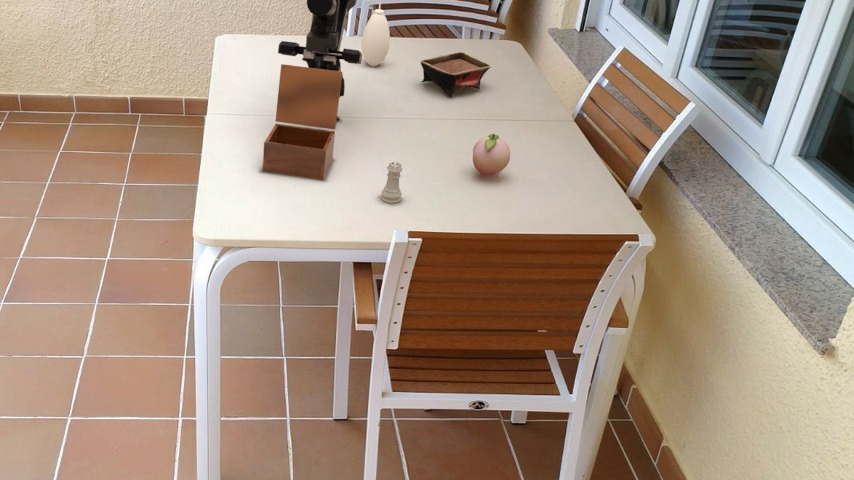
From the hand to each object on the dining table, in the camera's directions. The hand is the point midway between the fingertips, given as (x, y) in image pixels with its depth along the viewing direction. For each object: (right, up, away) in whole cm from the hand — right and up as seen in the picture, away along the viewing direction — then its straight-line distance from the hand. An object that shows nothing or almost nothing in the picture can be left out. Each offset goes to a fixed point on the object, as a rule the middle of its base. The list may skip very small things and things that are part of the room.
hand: (315, 91), depth 223 cm
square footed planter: (+38, +13, +42) cm, 58 cm away
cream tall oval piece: (+18, +22, +54) cm, 61 cm away
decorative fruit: (+38, -21, -6) cm, 44 cm away
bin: (-4, -18, -7) cm, 20 cm away
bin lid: (-2, -4, -9) cm, 10 cm away
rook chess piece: (+15, -28, -19) cm, 37 cm away
